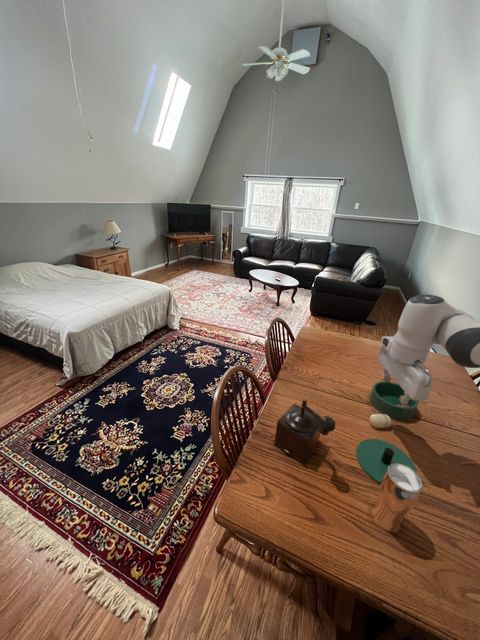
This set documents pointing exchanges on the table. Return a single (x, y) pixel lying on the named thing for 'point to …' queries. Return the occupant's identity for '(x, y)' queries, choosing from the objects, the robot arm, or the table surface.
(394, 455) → the lid
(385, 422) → the egg
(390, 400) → the basin
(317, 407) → the table surface
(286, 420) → the manual coffee grinder
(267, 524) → the table surface
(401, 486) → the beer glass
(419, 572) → the table surface
